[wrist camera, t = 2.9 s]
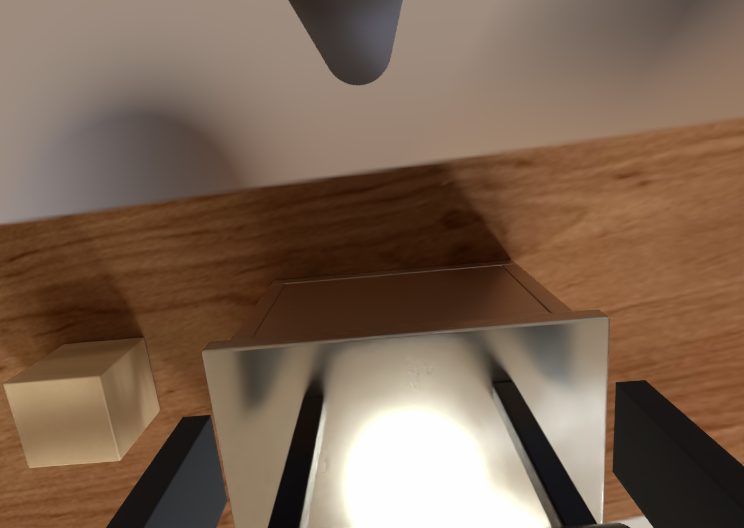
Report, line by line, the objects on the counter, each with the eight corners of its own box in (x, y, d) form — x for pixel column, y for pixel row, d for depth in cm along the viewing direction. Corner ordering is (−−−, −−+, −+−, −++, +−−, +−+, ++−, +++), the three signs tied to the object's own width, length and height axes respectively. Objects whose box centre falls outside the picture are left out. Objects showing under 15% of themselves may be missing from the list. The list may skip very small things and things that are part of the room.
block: (63, 343, 26) (1, 383, 22) (144, 336, 26) (98, 375, 22) (83, 416, 27) (28, 468, 23) (160, 410, 27) (120, 461, 23)
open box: (273, 280, 25) (213, 362, 16) (512, 259, 25) (597, 331, 16) (305, 498, 29) (271, 674, 19) (516, 482, 28) (588, 653, 19)
